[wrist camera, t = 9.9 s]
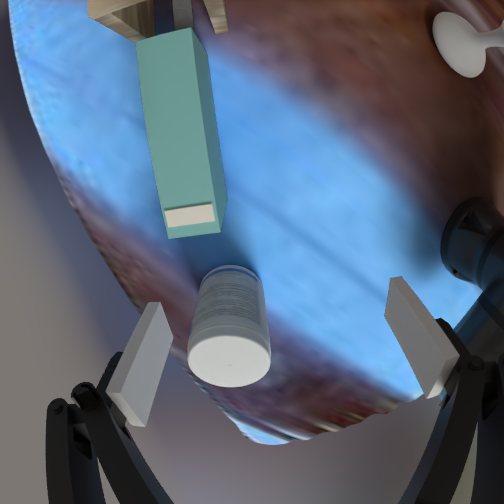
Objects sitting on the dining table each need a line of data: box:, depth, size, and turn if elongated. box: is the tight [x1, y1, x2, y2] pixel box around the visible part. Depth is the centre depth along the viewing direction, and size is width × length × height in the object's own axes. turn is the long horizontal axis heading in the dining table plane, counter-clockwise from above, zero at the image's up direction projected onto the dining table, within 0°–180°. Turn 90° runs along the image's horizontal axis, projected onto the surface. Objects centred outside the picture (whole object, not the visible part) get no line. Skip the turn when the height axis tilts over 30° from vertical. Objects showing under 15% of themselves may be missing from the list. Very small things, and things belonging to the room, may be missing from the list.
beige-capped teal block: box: [136, 28, 228, 239], centre depth 26 cm, size 5×19×11 cm, turn 7°
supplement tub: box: [188, 265, 271, 387], centre depth 36 cm, size 10×10×15 cm
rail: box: [172, 0, 195, 33], centre depth 29 cm, size 2×32×1 cm, turn 7°
